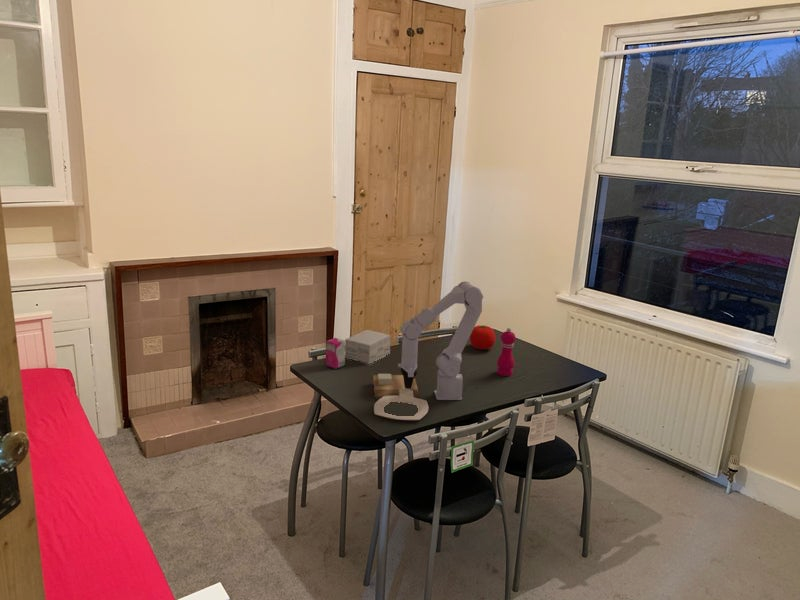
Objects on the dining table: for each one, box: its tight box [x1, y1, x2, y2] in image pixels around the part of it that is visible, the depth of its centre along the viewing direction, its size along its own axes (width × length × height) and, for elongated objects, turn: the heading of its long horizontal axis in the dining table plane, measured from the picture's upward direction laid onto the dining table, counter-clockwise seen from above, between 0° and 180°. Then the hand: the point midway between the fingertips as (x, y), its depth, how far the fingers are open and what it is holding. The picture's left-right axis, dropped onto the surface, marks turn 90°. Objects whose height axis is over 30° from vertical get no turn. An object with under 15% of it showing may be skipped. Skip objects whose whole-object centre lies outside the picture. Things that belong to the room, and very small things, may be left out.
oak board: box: [372, 374, 419, 399], centre depth 229 cm, size 16×14×4 cm
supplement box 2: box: [344, 329, 391, 365], centre depth 263 cm, size 17×13×9 cm
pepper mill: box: [496, 327, 517, 377], centre depth 249 cm, size 7×7×20 cm
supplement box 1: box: [325, 337, 346, 370], centre depth 250 cm, size 6×6×12 cm
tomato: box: [469, 325, 496, 350], centre depth 279 cm, size 12×13×11 cm
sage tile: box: [377, 373, 392, 385], centre depth 228 cm, size 5×5×2 cm
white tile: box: [399, 390, 413, 402], centre depth 219 cm, size 5×5×2 cm
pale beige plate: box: [373, 395, 430, 421], centre depth 212 cm, size 19×19×2 cm
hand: (407, 387), depth 221 cm, fingers closed
